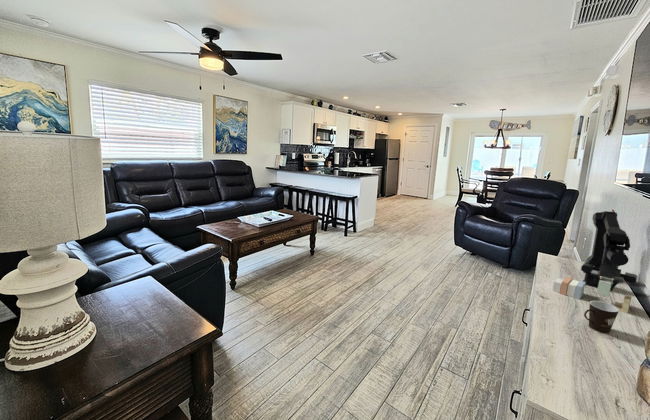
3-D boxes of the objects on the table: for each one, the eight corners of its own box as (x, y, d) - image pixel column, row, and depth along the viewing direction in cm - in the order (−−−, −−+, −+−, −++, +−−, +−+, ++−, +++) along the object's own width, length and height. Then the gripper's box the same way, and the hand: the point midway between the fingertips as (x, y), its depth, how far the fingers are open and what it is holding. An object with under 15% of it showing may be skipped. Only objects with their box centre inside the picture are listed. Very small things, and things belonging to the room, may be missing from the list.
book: (599, 287, 145) (602, 276, 144) (611, 290, 142) (613, 278, 141) (596, 293, 139) (599, 281, 138) (608, 296, 136) (610, 284, 135)
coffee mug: (606, 324, 123) (611, 302, 121) (618, 336, 115) (624, 313, 113) (572, 319, 127) (576, 297, 125) (582, 330, 119) (586, 308, 117)
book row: (556, 286, 158) (558, 274, 157) (583, 293, 150) (585, 282, 149) (551, 291, 152) (554, 279, 151) (579, 299, 144) (581, 287, 143)
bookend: (615, 304, 141) (618, 292, 139) (629, 307, 137) (631, 295, 136) (613, 309, 136) (616, 297, 134) (627, 313, 132) (629, 301, 131)
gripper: (581, 256, 139) (575, 287, 142) (638, 269, 125) (630, 302, 128) (586, 251, 146) (580, 281, 149) (640, 262, 132) (633, 295, 135)
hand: (604, 289), depth 140 cm, fingers closed on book, 4 cm apart
